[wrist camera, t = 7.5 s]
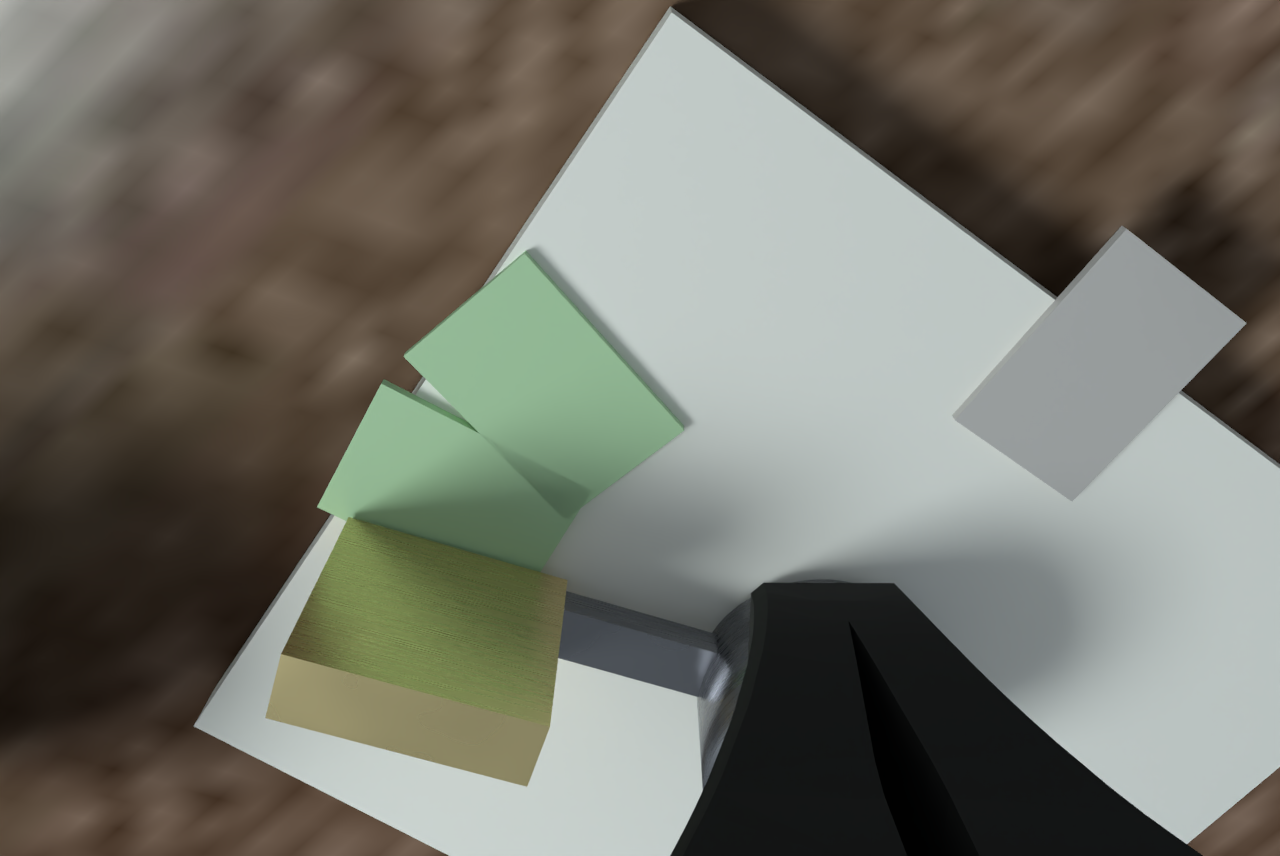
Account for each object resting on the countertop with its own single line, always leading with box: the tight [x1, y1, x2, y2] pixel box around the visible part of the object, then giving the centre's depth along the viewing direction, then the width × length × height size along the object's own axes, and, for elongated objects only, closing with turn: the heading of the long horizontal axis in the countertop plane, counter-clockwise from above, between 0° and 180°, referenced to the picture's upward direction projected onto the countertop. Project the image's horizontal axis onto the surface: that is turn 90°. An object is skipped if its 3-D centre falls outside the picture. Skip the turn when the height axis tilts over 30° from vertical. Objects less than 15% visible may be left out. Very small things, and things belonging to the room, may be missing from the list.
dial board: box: [194, 6, 1280, 856], centre depth 21 cm, size 19×18×1 cm
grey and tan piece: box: [265, 517, 850, 789], centre depth 19 cm, size 11×4×4 cm, turn 71°
